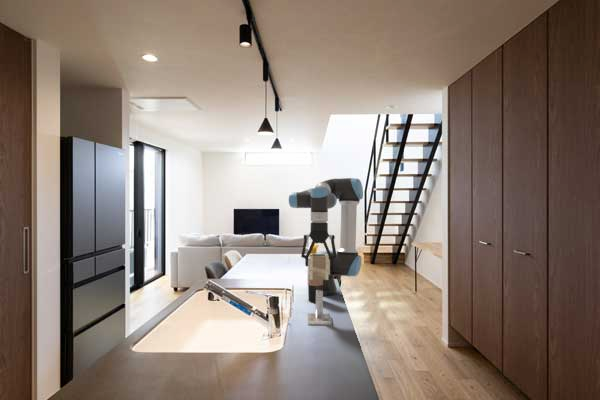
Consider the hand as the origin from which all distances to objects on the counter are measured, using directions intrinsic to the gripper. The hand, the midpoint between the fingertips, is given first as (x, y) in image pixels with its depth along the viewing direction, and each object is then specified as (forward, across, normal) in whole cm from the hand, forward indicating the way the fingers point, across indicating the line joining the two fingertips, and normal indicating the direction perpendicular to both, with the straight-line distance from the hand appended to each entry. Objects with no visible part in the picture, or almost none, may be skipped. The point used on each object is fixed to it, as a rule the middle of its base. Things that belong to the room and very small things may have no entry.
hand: (318, 273), depth 160 cm
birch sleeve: (+2, 0, 0) cm, 2 cm away
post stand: (+20, 0, -2) cm, 20 cm away
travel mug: (+20, 0, +30) cm, 36 cm away
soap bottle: (+19, 0, +65) cm, 68 cm away
